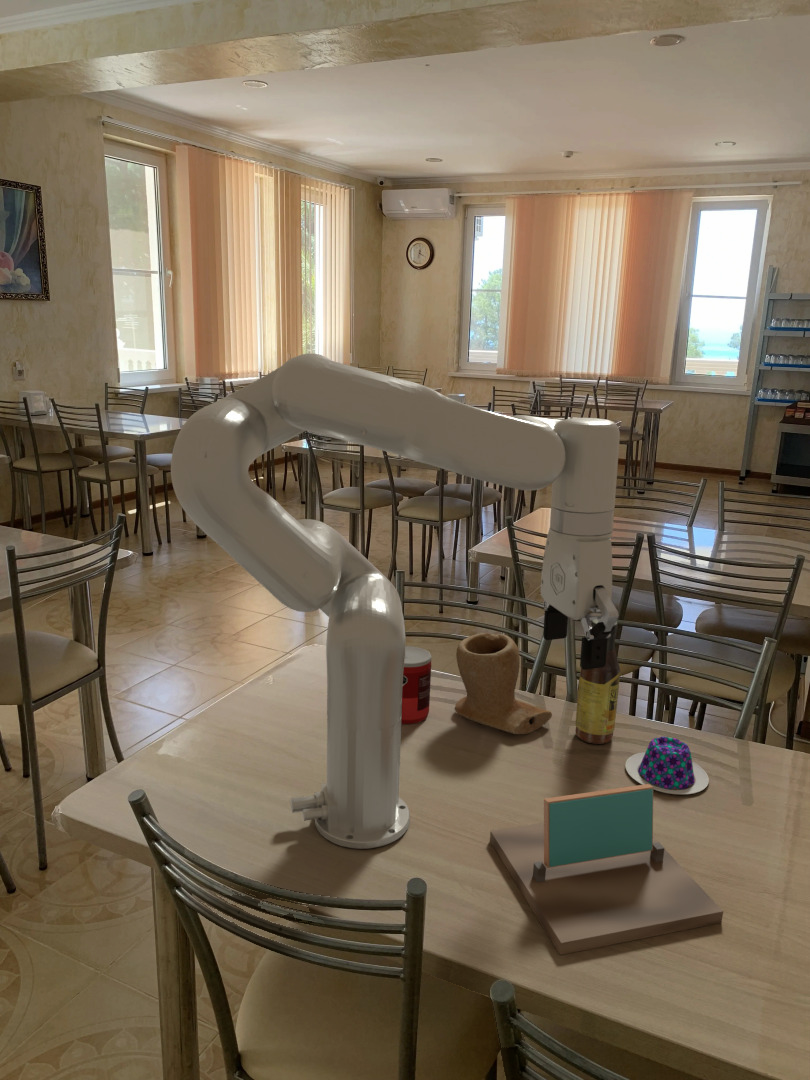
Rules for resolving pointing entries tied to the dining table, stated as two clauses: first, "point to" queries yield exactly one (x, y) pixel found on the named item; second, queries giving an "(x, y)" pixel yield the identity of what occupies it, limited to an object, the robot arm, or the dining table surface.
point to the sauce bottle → (598, 697)
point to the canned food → (416, 685)
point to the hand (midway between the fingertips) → (572, 652)
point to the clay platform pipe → (494, 685)
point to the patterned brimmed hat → (667, 767)
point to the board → (603, 893)
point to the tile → (598, 825)
